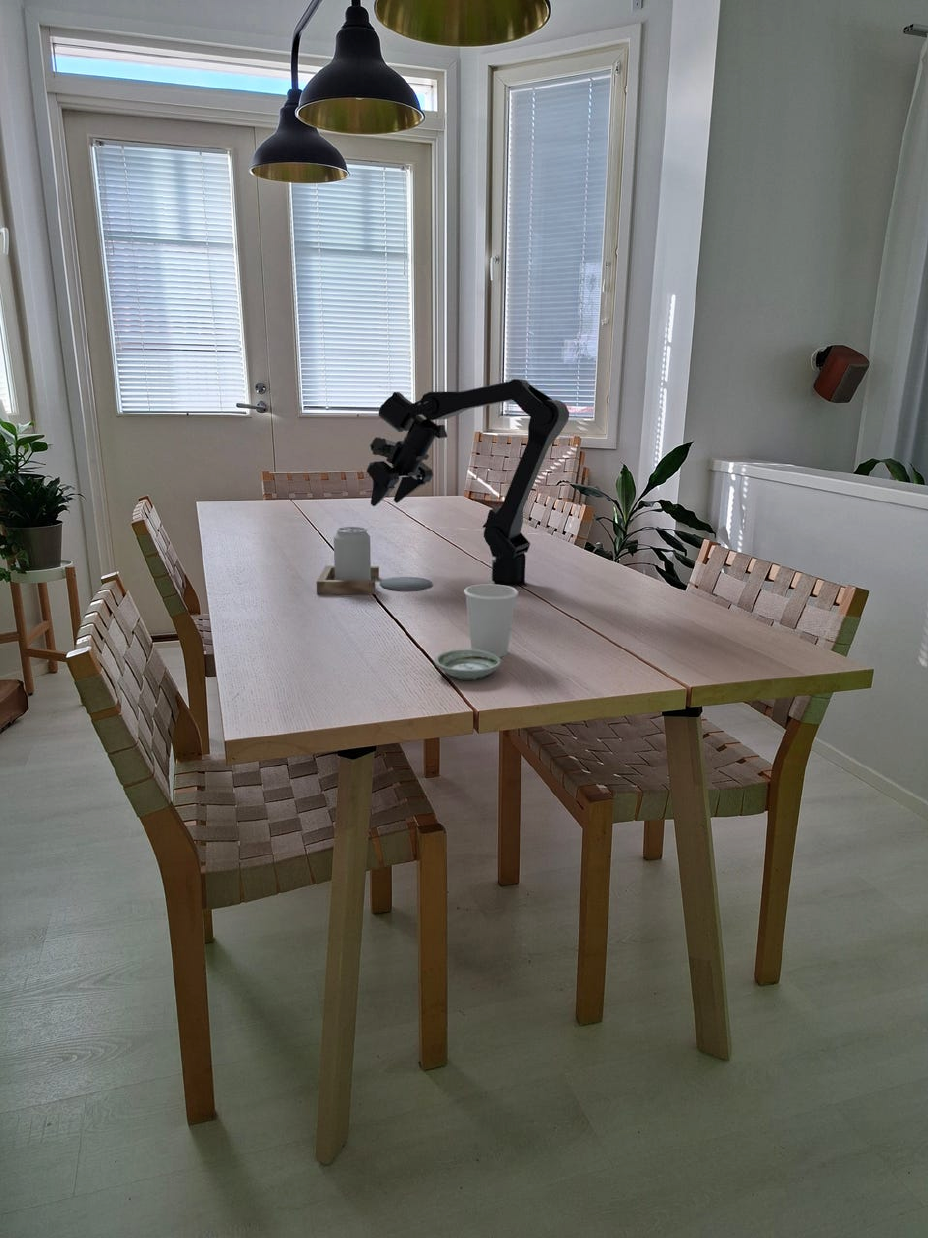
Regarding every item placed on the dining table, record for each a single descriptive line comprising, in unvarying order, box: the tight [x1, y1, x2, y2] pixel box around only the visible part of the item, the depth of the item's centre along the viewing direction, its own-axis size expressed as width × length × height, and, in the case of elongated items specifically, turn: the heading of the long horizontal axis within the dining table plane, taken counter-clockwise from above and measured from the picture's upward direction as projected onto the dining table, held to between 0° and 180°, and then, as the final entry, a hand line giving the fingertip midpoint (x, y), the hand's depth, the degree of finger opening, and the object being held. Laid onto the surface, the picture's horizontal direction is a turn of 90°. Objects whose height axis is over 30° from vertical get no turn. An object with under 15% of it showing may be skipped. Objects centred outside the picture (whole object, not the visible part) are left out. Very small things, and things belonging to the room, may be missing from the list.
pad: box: [379, 576, 433, 592], centre depth 169 cm, size 11×11×1 cm
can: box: [333, 526, 372, 580], centre depth 166 cm, size 8×8×12 cm
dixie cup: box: [463, 583, 519, 658], centre depth 126 cm, size 8×8×10 cm
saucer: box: [433, 648, 502, 680], centre depth 117 cm, size 10×10×2 cm
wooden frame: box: [316, 565, 380, 595], centre depth 168 cm, size 12×15×2 cm
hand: (384, 503), depth 181 cm, fingers open, 9 cm apart
